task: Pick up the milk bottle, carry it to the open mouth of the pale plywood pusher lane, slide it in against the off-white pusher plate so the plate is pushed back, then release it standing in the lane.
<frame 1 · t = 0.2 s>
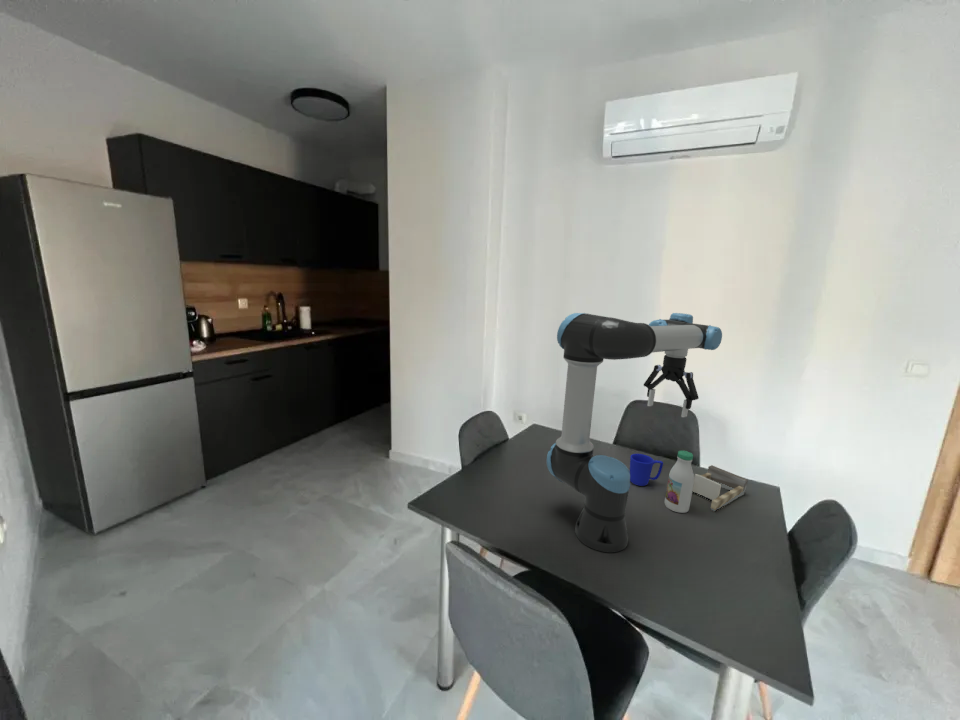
hand: (666, 411, 154), 28 cm above the table, fingers open, 13 cm apart
milk bottle: (676, 507, 140), on the table
mug: (643, 483, 156), on the table
lane: (695, 502, 144), on the table
pusher: (708, 487, 147), point 4 cm above the table, slide at 0.0 cm
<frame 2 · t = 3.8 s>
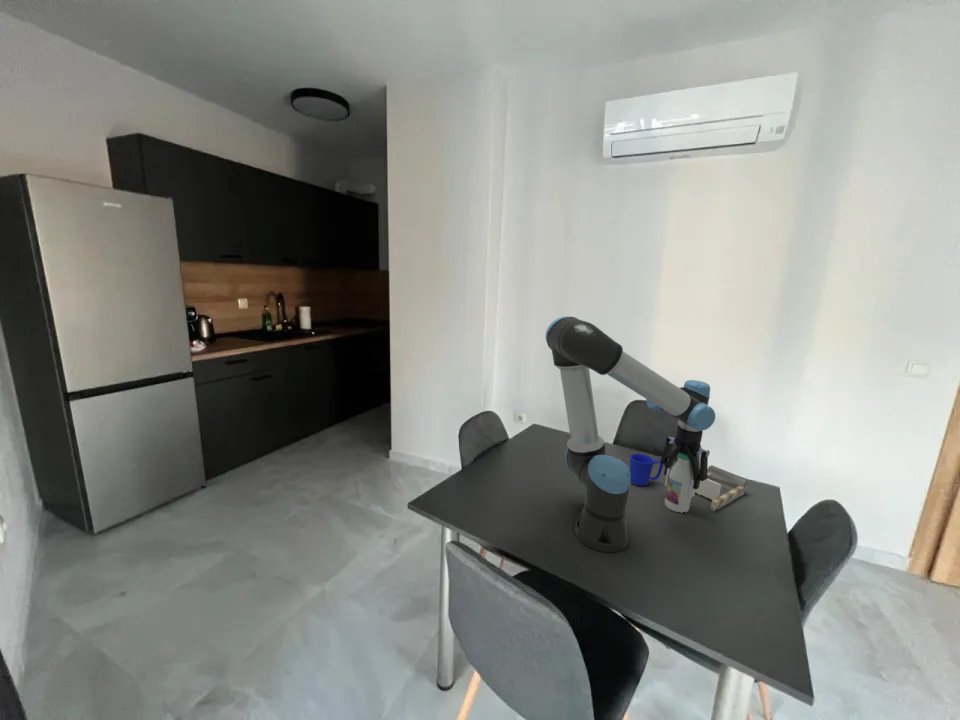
hand: (679, 490, 139), 6 cm above the table, fingers closed on milk bottle, 8 cm apart
milk bottle: (676, 507, 140), on the table, touching gripper
everything else where it was.
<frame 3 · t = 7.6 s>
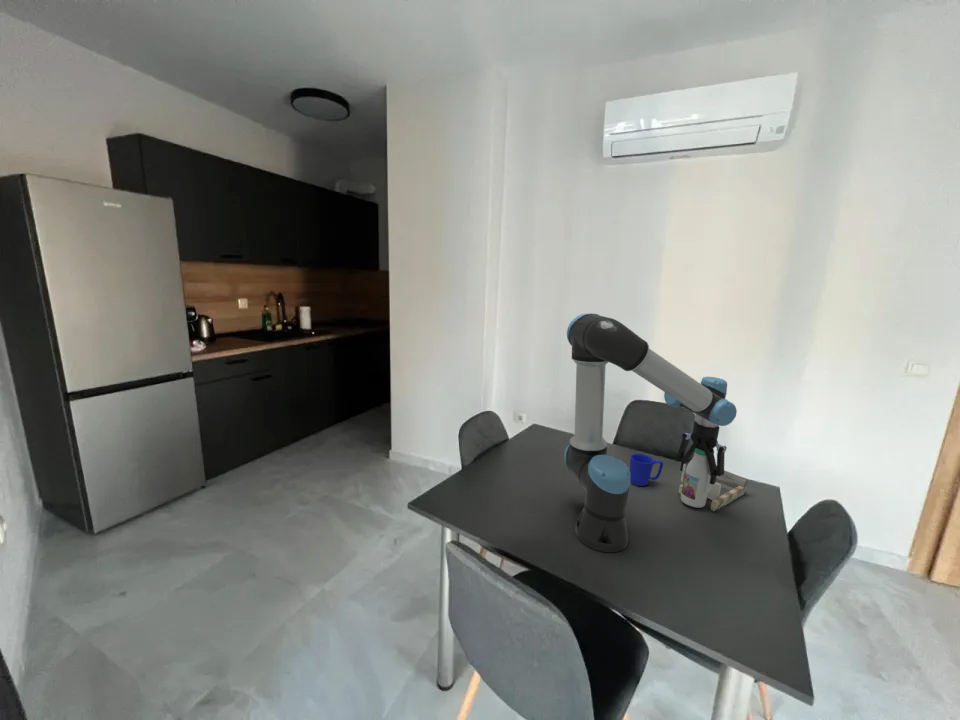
hand: (695, 485, 141), 7 cm above the table, fingers closed on milk bottle, 8 cm apart
milk bottle: (692, 502, 142), point 1 cm above the table, touching gripper
everything else where it was.
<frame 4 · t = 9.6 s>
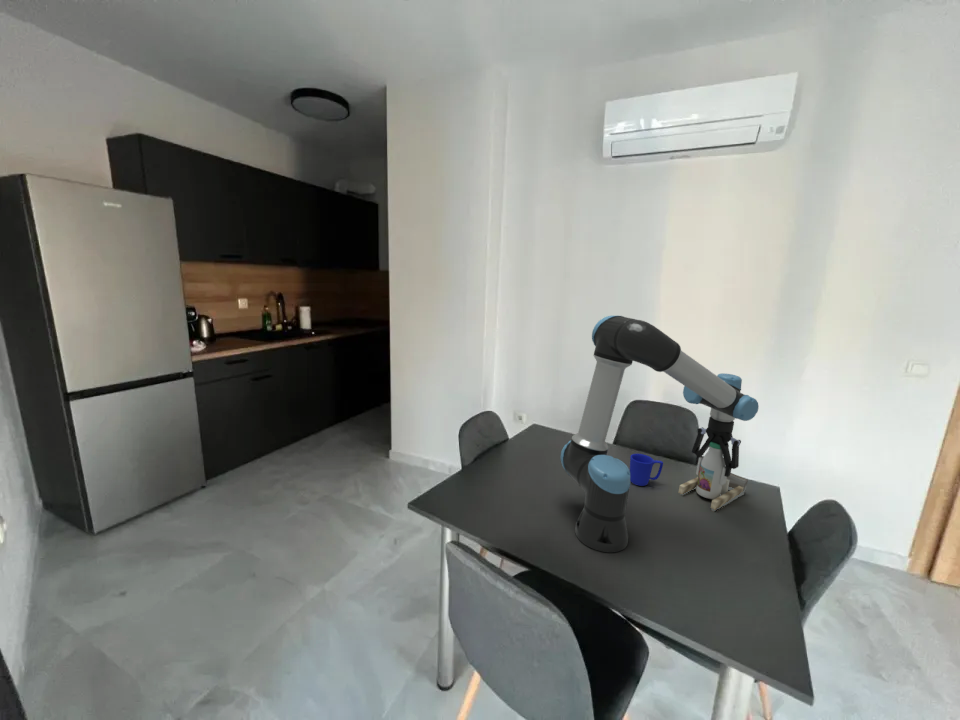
hand: (710, 478, 146), 7 cm above the table, fingers closed on milk bottle, 8 cm apart
milk bottle: (707, 494, 148), point 1 cm above the table, touching gripper, pusher
pusher: (716, 483, 151), point 4 cm above the table, slide at 6.0 cm, touching milk bottle
everything else where it was.
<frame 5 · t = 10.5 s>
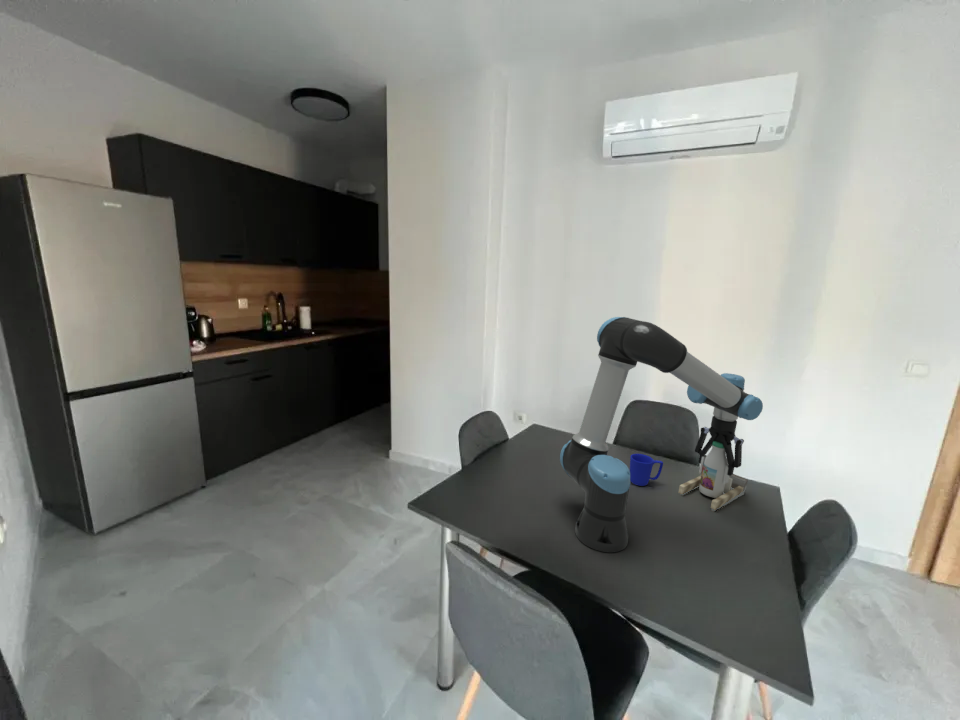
hand: (713, 477, 148), 7 cm above the table, fingers closed on milk bottle, 8 cm apart
milk bottle: (710, 493, 149), point 1 cm above the table, touching gripper
pusher: (719, 481, 152), point 4 cm above the table, slide at 8.3 cm
everything else where it was.
when the fingers open (7 cm above the table, at t = 11.7 s): milk bottle stays where it is, resting in lane.
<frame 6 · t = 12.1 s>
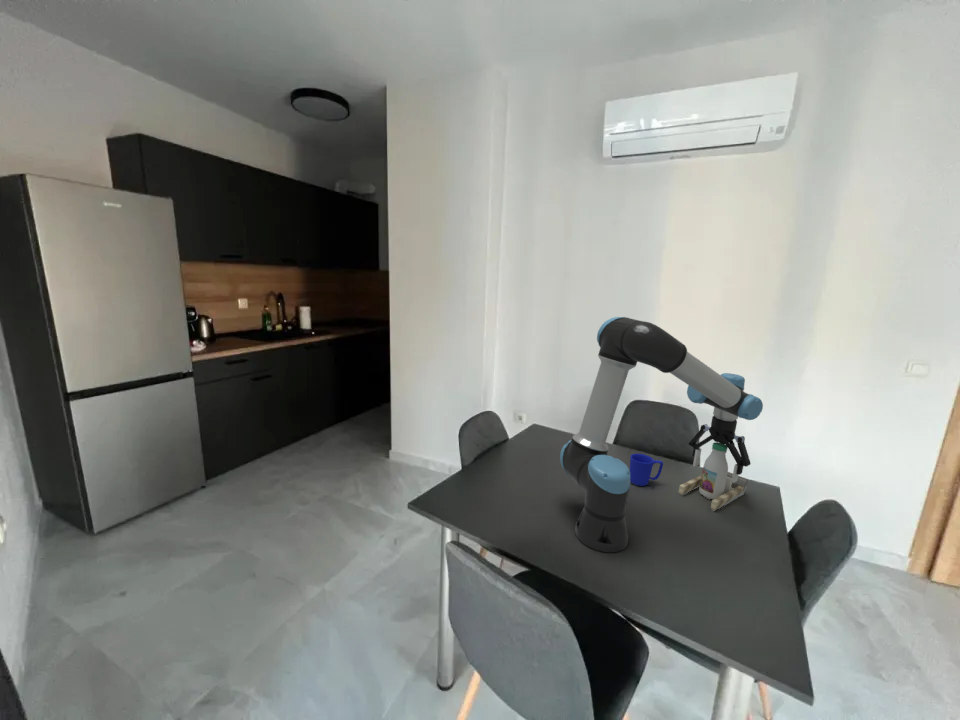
hand: (714, 473, 148), 9 cm above the table, fingers open, 13 cm apart
milk bottle: (710, 496, 149), resting in lane
everything else where it was.
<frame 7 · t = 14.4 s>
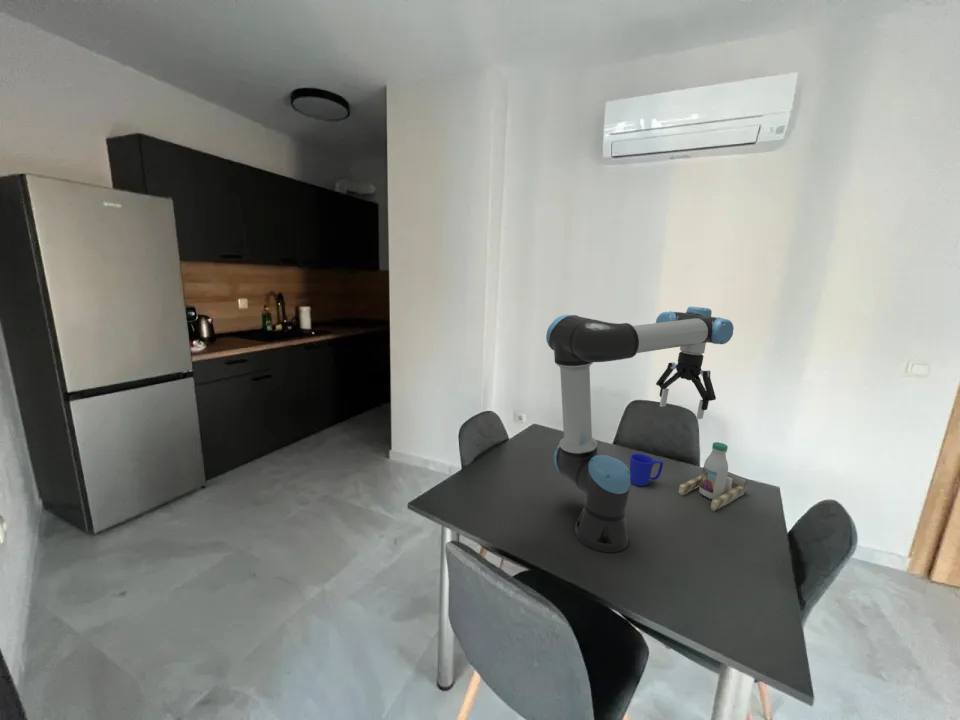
hand: (680, 412, 143), 31 cm above the table, fingers open, 13 cm apart
nothing on the table moved.
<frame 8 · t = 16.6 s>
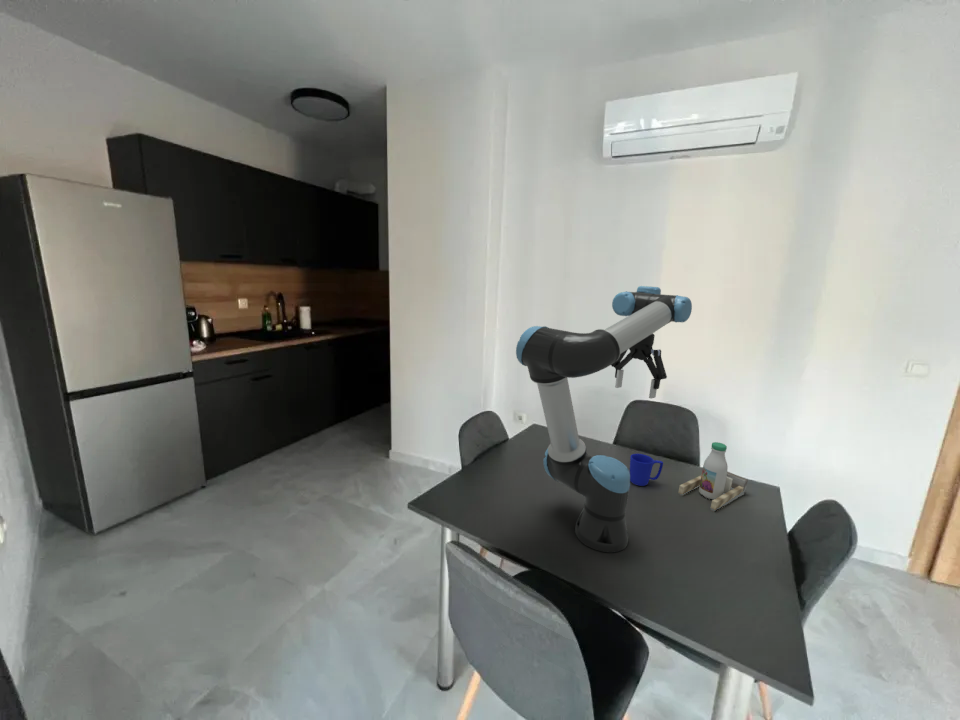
hand: (634, 392, 143), 37 cm above the table, fingers open, 13 cm apart
nothing on the table moved.
at the end: milk bottle inside the target area on the lane (1.7 cm from its centre), point 0.0 cm above the lane's base; milk bottle tilted 1°; pusher slide at 8.3 cm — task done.
